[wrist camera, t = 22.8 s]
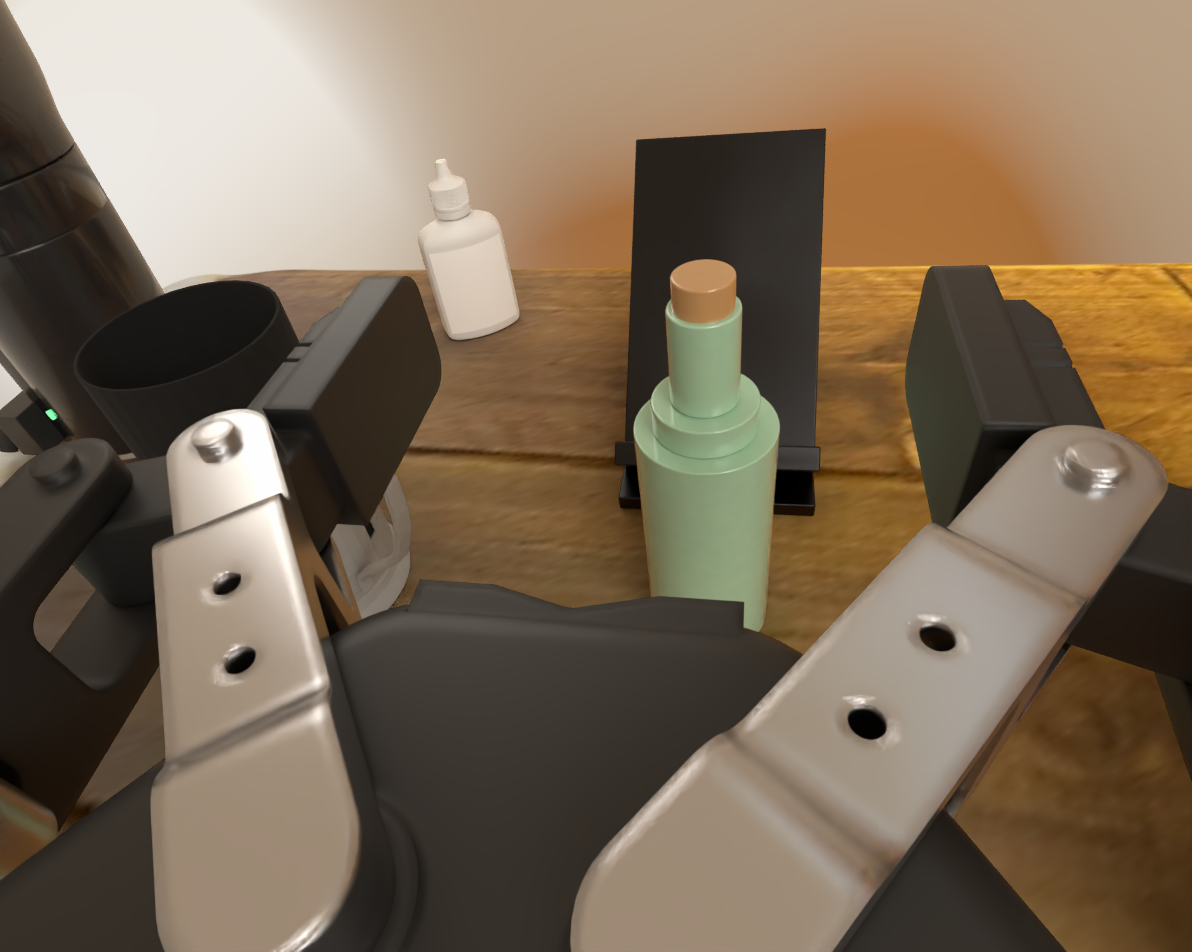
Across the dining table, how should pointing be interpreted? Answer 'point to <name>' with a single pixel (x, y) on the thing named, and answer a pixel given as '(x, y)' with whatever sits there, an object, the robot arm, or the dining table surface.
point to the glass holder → (223, 399)
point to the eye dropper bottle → (466, 262)
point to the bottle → (707, 453)
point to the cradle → (764, 277)
